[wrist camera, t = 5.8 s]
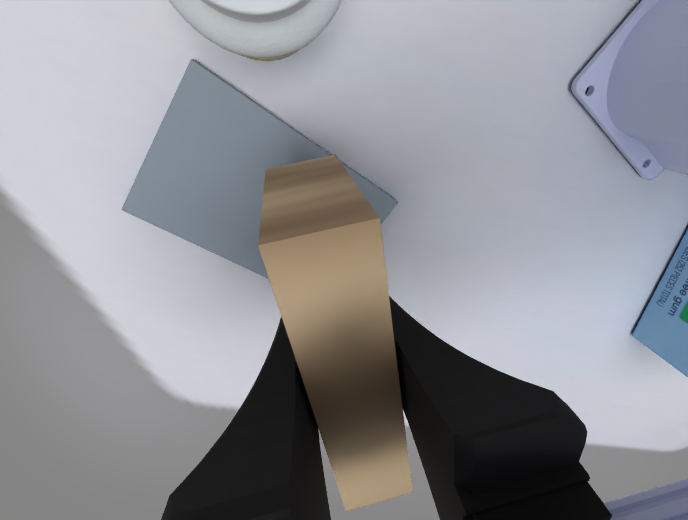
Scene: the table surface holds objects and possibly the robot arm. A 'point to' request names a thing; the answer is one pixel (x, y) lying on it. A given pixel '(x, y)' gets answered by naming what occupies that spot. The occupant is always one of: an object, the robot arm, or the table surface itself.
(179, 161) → the grey rectangular plate
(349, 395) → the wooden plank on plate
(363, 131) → the table surface
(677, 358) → the gum box
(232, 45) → the supplement bottle
